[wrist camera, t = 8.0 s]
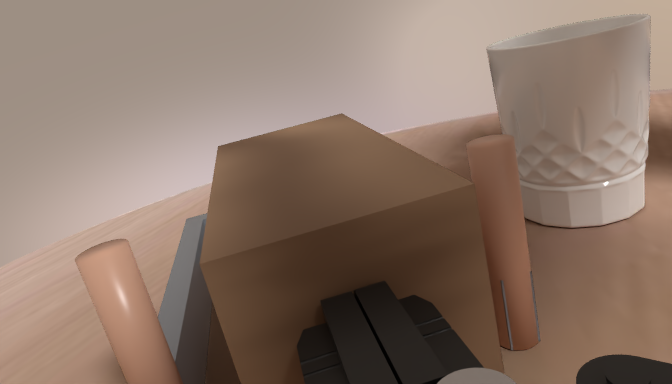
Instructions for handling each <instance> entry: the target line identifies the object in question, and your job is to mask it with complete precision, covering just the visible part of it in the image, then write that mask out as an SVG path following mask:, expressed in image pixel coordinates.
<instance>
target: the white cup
mask: <svg viewBox="0 0 672 384" xmlns="http://www.w3.org/2000/svg"><path fill="white" fill-rule="evenodd" d="M650 25H651V16H650V15H648V14H630V15H621V16H614V17H607V18H600V19H594V20H589V21H583V22H577V23H573V24H567V25H562V26H557V27H553V28H548V29H544V30H539V31H535V32H531V33H527V34H523V35H520V36H515V37H512V38H508V39H505V40H502V41H499V42H496V43H494V44H491V45H490V46H488V47H487V54H488V59H489V65H490V71H491V76H492V81H493V87H494V92H495V98H496V104H497V109H498V115H499V121H500V126H501V131H502V134H507V135H512V136H514V140H515V148H516V156H517V164H518V172H519V179H520V187H521V195H522V203H523V211H524V217H525V218H526V219H529V220H532V221H534V222H537V223H540V224H543V225H548V226H556V227H568V228H576V227H590V226H601V225H606V224H609V223H613V222H617V221H620V220H623V219H627V218H629V217H631V216H632V215H634V214H635V213H637V212H638V211H639V210H641V209H642V208H643V207H644V205H645V168H646V162H645V161H646V159H647V157H648V137H649V115H648V114H649V108H650V33H651V31H650V30H651V26H650Z"/></svg>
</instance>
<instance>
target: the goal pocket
mask: <svg viewBox="0 0 672 384" xmlns="http://www.w3.org/2000/svg"><path fill="white" fill-rule="evenodd" d="M466 149H467V155H468V161H469V168H470V174H471V180H472V182H473V183H475V189H476V196H477V202H478V208H479V215H480V221H481V228H482V234H483V240H484V247H485V253H486V260H487V266H488V272H489V279H490V285H491V292H492V298H493V304H494V311H495V317H496V324H497V330H498V336H499V343H500V345H501V346H503V347H504V348H507V349H511V351H512V350H526V349H529V348H532V347H534V346H535V345H536V344H537V343H538V342H539V341H540V334H539V326H538V318H537V310H536V303H535V295H534V287H533V279H532V271H531V266H530V258H529V250H528V242H527V234H526V227H525V219H524V211H523V203H522V195H521V187H520V179H519V172H518V164H517V156H516V148H515V140H514V136H512V135H507V134H497V135H489V136H484V137H480V138H476V139H473V140H471V141H469V142H468V143H467V144H466ZM206 219H207V213H206V214H203V215H199V216H196V217H192V218H188V219H186V223H185V226H184V230H183V233H182V236H181V240H180V243H179V247H178V250H177V253H176V257H175V260H174V264H173V267H172V270H171V274H170V277H169V281H168V284H167V287H166V291H165V294H164V298H163V301H162V304H161V308H160V311H159V315H158V317H157V314H156V312H155V309H154V307H153V304H152V302H151V299H150V296H149V294H148V291H147V289H146V286H145V283H144V281H143V278H142V276H141V273H140V271H139V268H138V265H137V263H136V260H135V258H134V255H133V252H132V250H131V247H130V245H129V242H128V240H126V239H116V240H111V241H108V242H104V243H101V244H99V245H96V246H94V247H91V248H89V249H87V250H85V251H84V252H82V253H81V254H79V255H78V256H77V257H76V258H75V262H76V264H77V266H78V269H79V271H80V273H81V276H82V278H83V280H84V283H85V285H86V288H87V290H88V292H89V295H90V297H91V299H92V302H93V304H94V306H95V309H96V311H97V313H98V316H99V318H100V320H101V323H102V325H103V327H104V330H105V332H106V334H107V337H108V339H109V341H110V344H111V346H112V348H113V351H114V353H115V356H116V358H117V360H118V363H119V365H120V367H121V370H122V372H123V374H124V377H125V379H126V381H127V384H205V374H206V363H207V352H208V341H209V330H210V319H211V309H212V299H211V296H210V293H209V290H208V287H207V285H206V282H205V279H204V276H203V273H202V270H201V267H200V257H201V251H202V245H203V238H204V232H205V226H206Z"/></svg>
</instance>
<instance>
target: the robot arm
mask: <svg viewBox="0 0 672 384" xmlns="http://www.w3.org/2000/svg"><path fill="white" fill-rule="evenodd" d="M353 293H354V295H353ZM353 293H352V291H349V292H346V293H343V294H339V295H336V296H333V297H330V298H326V299H323V300H320V303H321V308H322V311H323V315H324V319H325V322H326V323H323V324H320V325H317V326H313V327H310V328H307V329H304V330H303V331H302V334H301V336H300V339H299V341H298V344H297V350H298V355H299V359H300V363H301V369H302V373H303V377H304V382H305V384H516V383H515V382H514V381H513V380H512V379H511V378H510V377H508V376H507V375H505V374H503V373H501V372H498V371H495V370H492V369H487V368H484V367H483V366H482V364H481V363H480V362H479V361H478V359H477V358H476V357H475V356H474V354H473V353H472V352H471V351H470V349H469V348H468V347H467V346H466V344H465V343H464V342H463V341H462V339H461V338H460V337H459V336H458V334H457V333H456V332H455V331H454V330H453V329H452V328H451V326H450V325H449V323H448V322H447V321H446V320H445V318H443V316H442V315H441V313H440V312H439V311H438V310H437V308H436V307H435V306H434V305H433V303H431V302H429V301H427V300H425V299H423V298H421V297H418V296H416V295H411V296H408V297H405V298H402V299H399V300H398V299H397V297H396V296H395V294H394V293H393V291H392V290H391V289H390V287H389V286H388V284H387V283H386V281H381V282H378V283H375V284H371V285H368V286H365V287H362V288H358V289H355V290H353ZM576 384H672V364H669V363H665V362H660V361H656V360H651V359H647V358H642V357H637V356H631V355H607V356H602V357H598V358H595V359H593V360H590V361H589V362H587V363H586V364H584V365H583V366H582V367H581V368H580V370H579V371H578V374H577V377H576Z"/></svg>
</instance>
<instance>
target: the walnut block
mask: <svg viewBox="0 0 672 384" xmlns="http://www.w3.org/2000/svg"><path fill="white" fill-rule="evenodd" d="M200 267H201V270H202V273H203V276H204V279H205V282H206V285H207V287H208V290H209V293H210V296H211V299H212V302H213V305H214V308H215V311H216V313H217V316H218V319H219V322H220V325H221V328H222V331H223V334H224V337H225V339H226V342H227V345H228V348H229V351H230V354H231V357H232V360H233V363H234V366H235V368H236V371H237V374H238V377H239V380H240V383H241V384H305V382H304V377H303V373H302V369H301V363H300V359H299V355H298V350H297V344H298V341H299V339H300V336H301V334H302V331H303V330H304V329H307V328H310V327H313V326H317V325H320V324H323V323H326V322H325V319H324V315H323V311H322V308H321V303H320V300H323V299H326V298H330V297H333V296H336V295H339V294H343V293H346V292H349V291H352V293H353V290H355V289H358V288H362V287H365V286H368V285H371V284H375V283H378V282H381V281H386V283H387V284H388V286H389V287H390V289H391V290H392V291H393V293H394V294H395V296H396V297H397V299H398V300H399V299H402V298H405V297H408V296H411V295H416V296H418V297H421V298H423V299H425V300H427V301H429V302H431V303H433V305H434V306H435V307H436V308H437V310H438V311H439V312H440V313H441V315H442V316H443V318H445V320H446V321H447V322H448V323H449V325H450V326H451V328H452V329H453V330H454V331H455V332H456V333H457V334H458V336H459V337H460V338H461V339H462V341H463V342H464V343H465V344H466V346H467V347H468V348H469V349H470V351H471V352H472V353H473V354H474V356H475V357H476V358H477V359H478V361H479V362H480V363H481V364H482V366H483V367H484V368H487V369H492V370H495V371H498V372H501V373H503V374H504V368H503V362H502V356H501V349H500V343H499V336H498V330H497V324H496V317H495V311H494V304H493V298H492V292H491V285H490V279H489V272H488V266H487V260H486V253H485V247H484V240H483V234H482V228H481V221H480V215H479V208H478V202H477V196H476V189H475V183H473V182H471V181H469V180H467V179H465V178H463V177H461V176H460V175H458V174H456V173H454V172H452V171H450V170H448V169H446V168H444V167H442V166H441V165H439V164H437V163H435V162H433V161H431V160H429V159H427V158H425V157H423V156H422V155H420V154H418V153H416V152H414V151H412V150H410V149H408V148H406V147H404V146H403V145H401V144H399V143H397V142H395V141H393V140H391V139H389V138H387V137H385V136H384V135H382V134H380V133H378V132H376V131H374V130H372V129H370V128H368V127H366V126H364V125H363V124H361V123H359V122H357V121H355V120H353V119H351V118H349V117H347V116H345V115H344V114H338V115H334V116H330V117H327V118H323V119H319V120H316V121H312V122H308V123H304V124H300V125H297V126H293V127H289V128H285V129H282V130H278V131H274V132H270V133H267V134H263V135H259V136H255V137H251V138H248V139H244V140H240V141H236V142H233V143H229V144H225V145H221V146H218V150H217V157H216V163H215V169H214V176H213V182H212V188H211V194H210V201H209V207H208V213H207V219H206V226H205V232H204V238H203V245H202V251H201V257H200ZM353 295H354V293H353Z"/></svg>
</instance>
